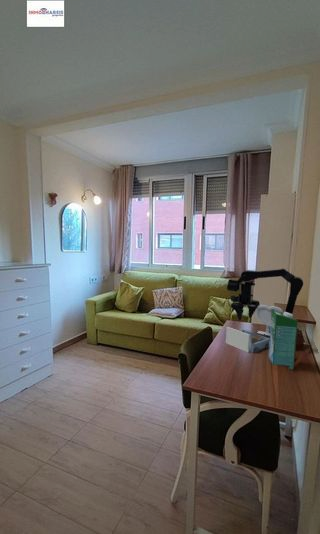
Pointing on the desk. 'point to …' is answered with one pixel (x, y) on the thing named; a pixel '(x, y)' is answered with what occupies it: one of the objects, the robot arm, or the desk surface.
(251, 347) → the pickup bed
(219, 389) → the desk surface
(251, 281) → the robot arm
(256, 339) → the brown cube
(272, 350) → the milk carton
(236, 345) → the tall thin white panel
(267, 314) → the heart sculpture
